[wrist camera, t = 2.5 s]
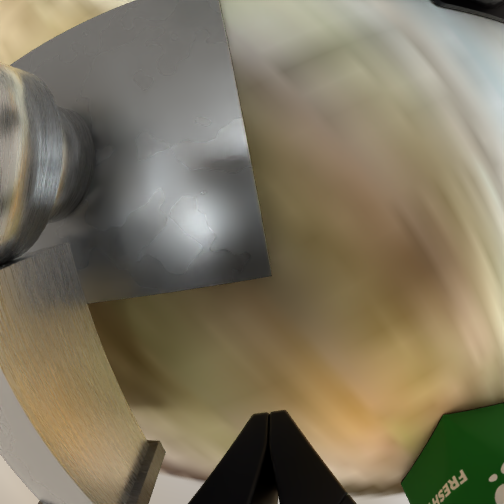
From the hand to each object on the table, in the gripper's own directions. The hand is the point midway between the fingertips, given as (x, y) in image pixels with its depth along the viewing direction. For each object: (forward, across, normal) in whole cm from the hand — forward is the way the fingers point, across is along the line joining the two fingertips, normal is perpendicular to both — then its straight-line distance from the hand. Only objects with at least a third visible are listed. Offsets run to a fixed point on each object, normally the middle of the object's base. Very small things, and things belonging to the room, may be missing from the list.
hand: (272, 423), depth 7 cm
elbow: (+3, +7, -4) cm, 9 cm away
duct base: (+6, +8, -8) cm, 13 cm away
